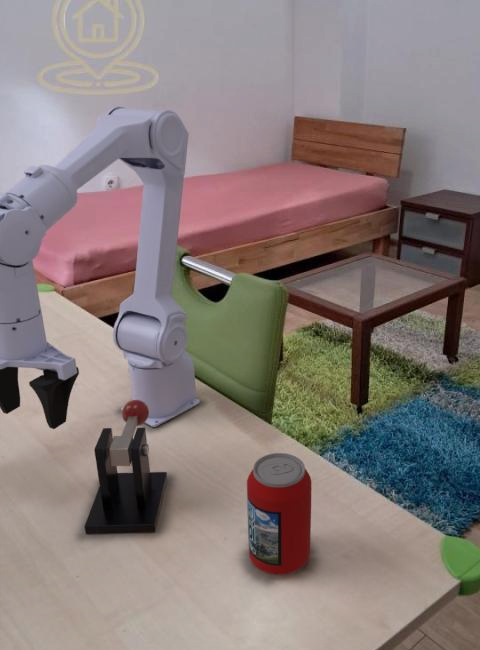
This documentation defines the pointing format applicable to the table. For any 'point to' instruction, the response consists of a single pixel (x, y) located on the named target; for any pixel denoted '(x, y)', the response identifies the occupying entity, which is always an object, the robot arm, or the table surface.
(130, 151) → the robot arm
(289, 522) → the beverage can
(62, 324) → the table surface
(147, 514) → the bracket
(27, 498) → the table surface
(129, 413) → the lever
